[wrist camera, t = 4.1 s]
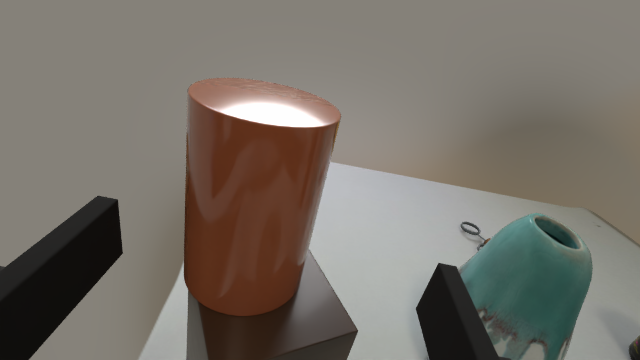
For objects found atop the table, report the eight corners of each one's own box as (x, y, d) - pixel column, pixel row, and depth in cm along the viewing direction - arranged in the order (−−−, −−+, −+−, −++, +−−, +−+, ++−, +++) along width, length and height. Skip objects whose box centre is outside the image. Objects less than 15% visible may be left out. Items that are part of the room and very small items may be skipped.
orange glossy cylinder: (173, 318, 17) (173, 112, 12) (192, 230, 23) (198, 70, 18) (309, 315, 19) (360, 136, 14) (293, 234, 25) (324, 91, 20)
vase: (551, 403, 32) (680, 270, 24) (468, 444, 28) (593, 295, 19) (467, 308, 41) (539, 188, 33) (393, 326, 37) (456, 191, 28)
